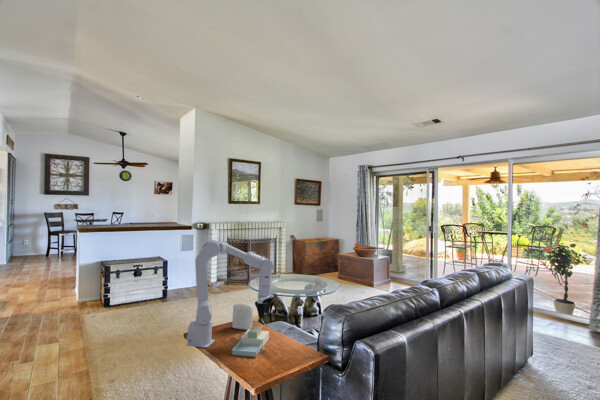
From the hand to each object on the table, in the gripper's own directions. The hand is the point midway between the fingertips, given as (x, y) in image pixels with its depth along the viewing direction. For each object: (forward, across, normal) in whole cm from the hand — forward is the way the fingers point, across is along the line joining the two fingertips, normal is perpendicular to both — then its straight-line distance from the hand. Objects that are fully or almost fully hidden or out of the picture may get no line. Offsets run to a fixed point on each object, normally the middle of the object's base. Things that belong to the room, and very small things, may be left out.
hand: (263, 315), depth 143 cm
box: (+10, -14, +2) cm, 18 cm away
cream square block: (+10, -4, +2) cm, 11 cm away
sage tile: (+7, -6, +2) cm, 10 cm away
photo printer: (+10, +10, +14) cm, 20 cm away
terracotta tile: (+7, -2, +2) cm, 8 cm away
